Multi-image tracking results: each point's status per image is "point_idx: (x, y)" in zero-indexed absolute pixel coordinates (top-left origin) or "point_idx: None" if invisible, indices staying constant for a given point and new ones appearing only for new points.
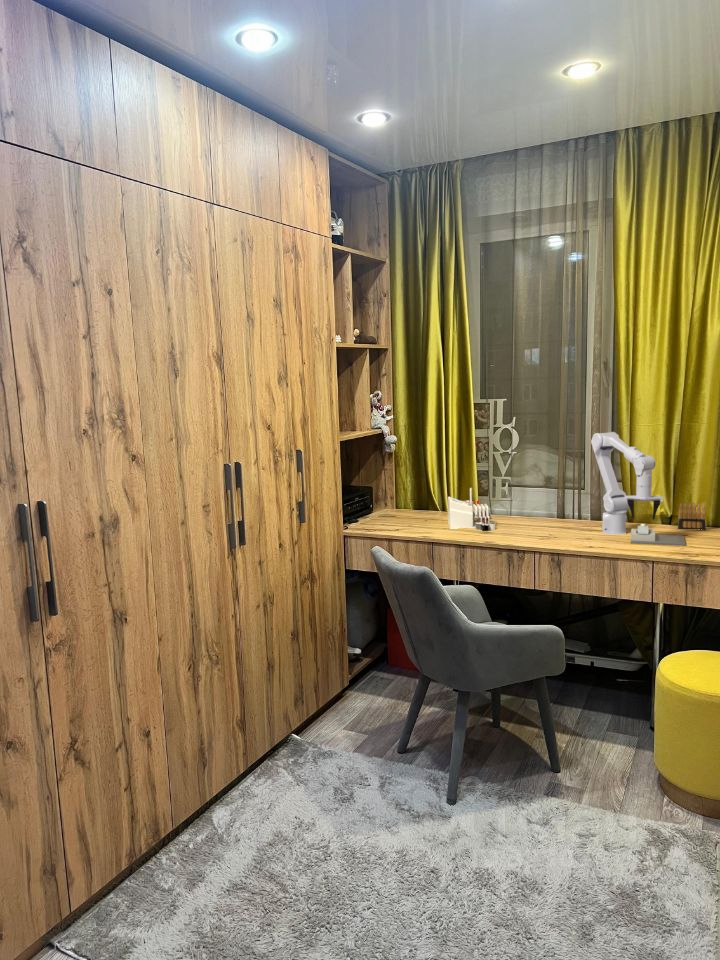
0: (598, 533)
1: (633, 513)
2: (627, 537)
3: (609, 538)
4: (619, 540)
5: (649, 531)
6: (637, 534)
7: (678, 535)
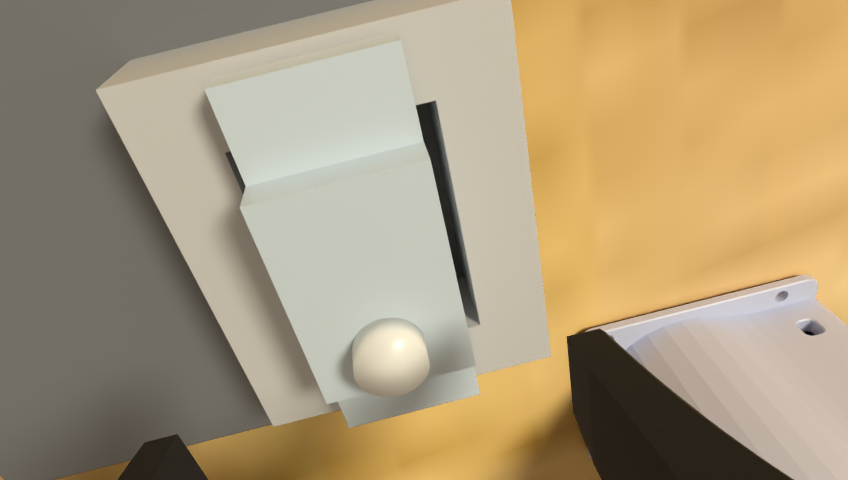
0: (845, 282)
1: (640, 416)
2: (554, 247)
3: (754, 109)
4: (634, 51)
5: None
6: (398, 22)
7: (53, 465)
